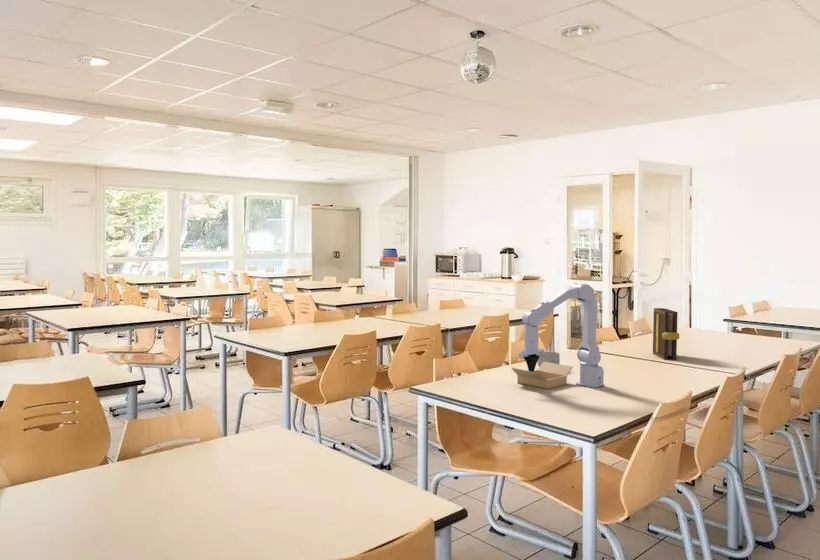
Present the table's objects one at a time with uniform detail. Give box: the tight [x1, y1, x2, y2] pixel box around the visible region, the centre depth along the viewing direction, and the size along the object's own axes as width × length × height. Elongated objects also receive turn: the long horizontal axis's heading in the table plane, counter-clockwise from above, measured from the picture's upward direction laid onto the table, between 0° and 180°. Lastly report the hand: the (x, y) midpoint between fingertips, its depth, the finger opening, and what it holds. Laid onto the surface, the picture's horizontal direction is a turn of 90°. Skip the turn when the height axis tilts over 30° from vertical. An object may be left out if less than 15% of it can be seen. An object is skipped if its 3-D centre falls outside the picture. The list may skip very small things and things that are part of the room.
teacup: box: [537, 350, 561, 368], centre depth 306 cm, size 14×11×8 cm
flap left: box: [511, 367, 547, 381], centre depth 266 cm, size 15×6×1 cm
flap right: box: [537, 362, 573, 377], centre depth 278 cm, size 15×6×1 cm
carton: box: [517, 369, 568, 391], centre depth 272 cm, size 16×13×4 cm
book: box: [652, 307, 680, 361], centre depth 336 cm, size 22×8×25 cm, turn 178°
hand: (531, 372), depth 264 cm, fingers closed, pressing on flap left
